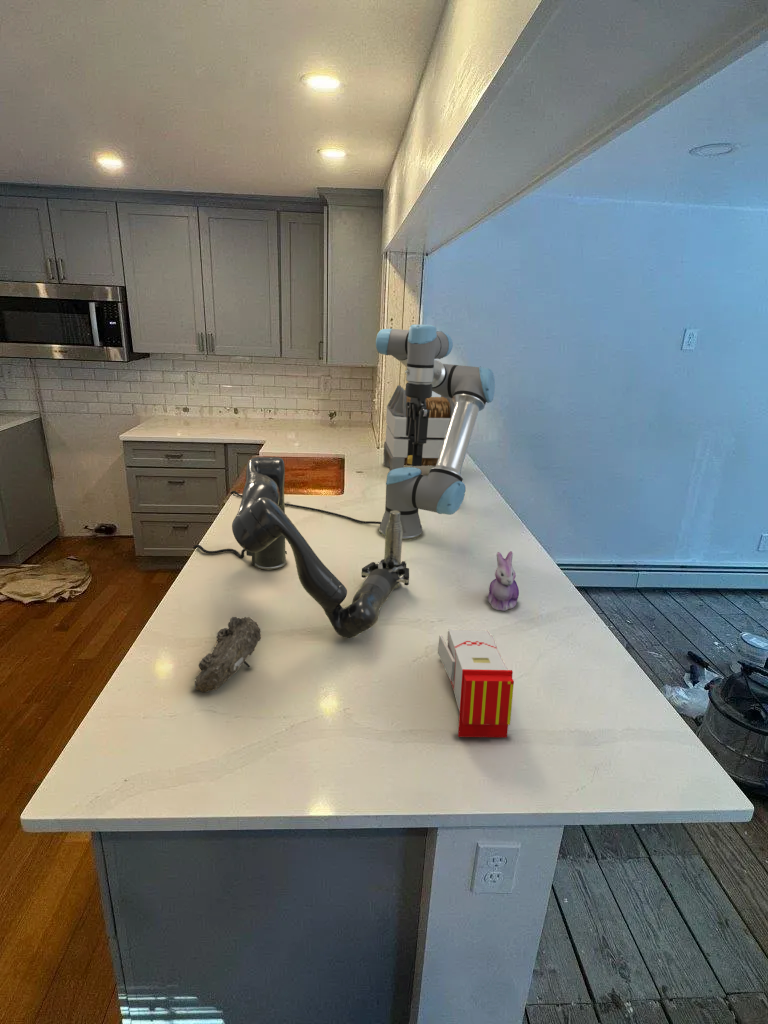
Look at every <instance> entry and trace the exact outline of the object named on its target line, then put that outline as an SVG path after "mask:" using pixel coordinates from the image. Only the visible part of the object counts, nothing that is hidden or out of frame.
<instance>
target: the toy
mask: <svg viewBox="0 0 768 1024" xmlns="http://www.w3.org/2000/svg"><path fill="white" fill-rule="evenodd" d="M446 640H447V643H446V641H445V639H444V636H443V635H442V634H439V637H438V646H437V656H438V657H439V659H440V661H441V663H442V666H443V668H444V670H445V672H446V674H447V677H448V679H449V681H450V684H451V687H452V690H453V693H454V697H455V701H456V705H457V708H458V711H459V714H458V715H459V716H458V730H457V731H458V732H457V737H458V738H508V731H509V726H510V725H511V717H512V707H513V697H514V696H513V695H514V684H515V680H514V679H513V673H514V671H513V670H512V669H508V667H507V665H506V662H505V661H504V659H503V658H502V655H501V653H500V651H499V649H498V647H497V643H496V639H495V637H494V635H493V634H491V632H490V631H489V629H467V628H466V629H465V628H463V629H461V628H460V629H459V628H448V630H447V639H446Z"/></svg>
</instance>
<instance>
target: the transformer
mask: <svg viewBox="0 0 768 1024" xmlns="http://www.w3.org/2000/svg"><path fill="white" fill-rule="evenodd" d="M410 399H411V398H410V397H407V396H406V395H405V389H404V388H403V387H402V385H399V384H398V385H397V386H396V388H395V390H394V392H393V394H392V395H391V398H390V400H389V402H388V404H387V405H386V413H385V414H386V415H385V423H386V428H385V438H384V442H383V466H384V467H388V468H389V472H390V471H391V470H393V469H397V468H404V467H405V466H406V467H410V466H411V467H413V466H412V465H411V464H408V463H407V453H408V440H409V439H408V436H406V418H407V405H406V403H407V402H410ZM426 405H427V409H429V410H430V413H429V418H428V429H427V441H426V443H424V444H423V452H422V466H421V467H435V466H436V464H437V460H438V457H439V454H440V451H441V448H442V444H443V441H444V438H445V435H446V431H447V428H448V425H449V422H450V419H451V415H452V412H453V409H454V406H455V404H454V403H453V401H452V398H448V397H444V396H441V395H440V396H431V397H430V398H427V399H426ZM461 472H462V471H461ZM461 472H460V474H461ZM461 475H462V474H461Z"/></svg>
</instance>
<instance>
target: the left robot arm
mask: <svg viewBox="0 0 768 1024" xmlns="http://www.w3.org/2000/svg"><path fill="white" fill-rule="evenodd" d="M245 468H246V469H245V483H244V487H243V489H242V494H241V495H242V497H241V501H240V505H239V509H238V510H237V513H236V515H235V517H234V518H233V521H232V523H231V530H232V535H233V537H234V540H235V542H236V543H237V544H238V545H239V546H240V547H241V548H242V550H240V551H241V552H238V550H236V549H233V548H223V549H217V550H207V549H205V548H204V547H202V545H200V544H195V545H194V546H193V547H192V549H193V550H194V549H195V550H196V549H199V550H200V551H201V552H202V553H204V554H207V555H216V554H222V553H229V552H230V553H233V554H235V555H236V556H237V558H240V559H242V558H244V557H245V553H246V557H247V556H248V557H251V566H255V567H256V568H257V569H260V570H263V571H264V570H266V571H274V570H278V569H281V568H283V567H285V566H286V565H287V559H286V558H287V556H286V555H288V552H287V550H286V541H287V543H288V544H289V547H290V548H291V550H292V553H293V558H294V561H295V567H296V572H297V575H298V579H299V582H300V584H301V586H302V587H303V589H304V590H305V591H306V593H307V594H308V595H309V596H310V597H311V598H312V599H313V600H314V601H315V602H316V603H317V604H318V605H319V606H320V607H321V608H322V610H323V611H324V613H325V615H326V617H327V619H328V620H329V622H330V624H331V626H332V628H333V629H334V631H335V632H336V634H337V635H339V636H340V637H341V638H344V639H352V638H353V639H354V638H355V637H357V636H359V635H361V634H363V633H364V632H366V631H368V630H369V629H371V628H373V627H374V626H375V625H376V623H377V622H378V621H379V617H380V616H379V614H380V610H381V608H382V606H383V605H384V604H385V603H386V602H387V600H388V599H389V597H390V596H391V594H392V592H393V591H394V590H395V589H394V587H395V585H397V584H398V583H399V582H400V583H403V585H404V586H409V585H410V568H408V567H407V562H406V561H405V560H401V564H400V566H399V567H395V568H393V569H391V570H387V569H384V558H383V559H381V560H380V561H378V562H377V563H376V562H374V561H372V562H370V563H368V564H366V565H364V566H363V567H361V578H362V579H364V581H363V582H361V585H360V587H359V588H358V590H357V591H356V593H355V594H354V596H353V598H352V603H350V604H348V605H347V606H345V607H343V606H342V605H341V604H342V603H343V602H344V601H345V599H346V598H347V595H348V590H347V587H346V586H345V585H344V584H343V582H341V581H340V580H339V578H338V577H336V575H334V573H333V572H332V571H331V570H330V569H329V568H328V567H327V566H326V565H325V564H324V563H323V562H322V560H321V559H320V558H319V556H318V555H317V554H316V553H315V551H314V550H313V548H312V547H311V546H310V544H309V543H308V541H307V540H306V539H305V538H304V536H303V535H302V534H301V532H300V531H299V529H298V528H297V527H296V526H295V524H294V523H293V522H292V520H291V519H290V518H289V516H288V515H287V513H286V507H285V506H286V505H285V504H284V503H285V485H286V484H285V483H286V482H285V481H286V465H285V461H284V459H283V458H282V457H279V456H257V457H252V458H250V459H249V460H248V462H247V464H246V467H245ZM399 577H400V578H399ZM400 583H399V584H400Z"/></svg>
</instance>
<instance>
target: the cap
mask: <svg viewBox="0 0 768 1024" xmlns="http://www.w3.org/2000/svg"><path fill="white" fill-rule="evenodd" d="M412 456H413V455H409V456H408V459H407V463H408V464H411V465H412Z"/></svg>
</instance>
